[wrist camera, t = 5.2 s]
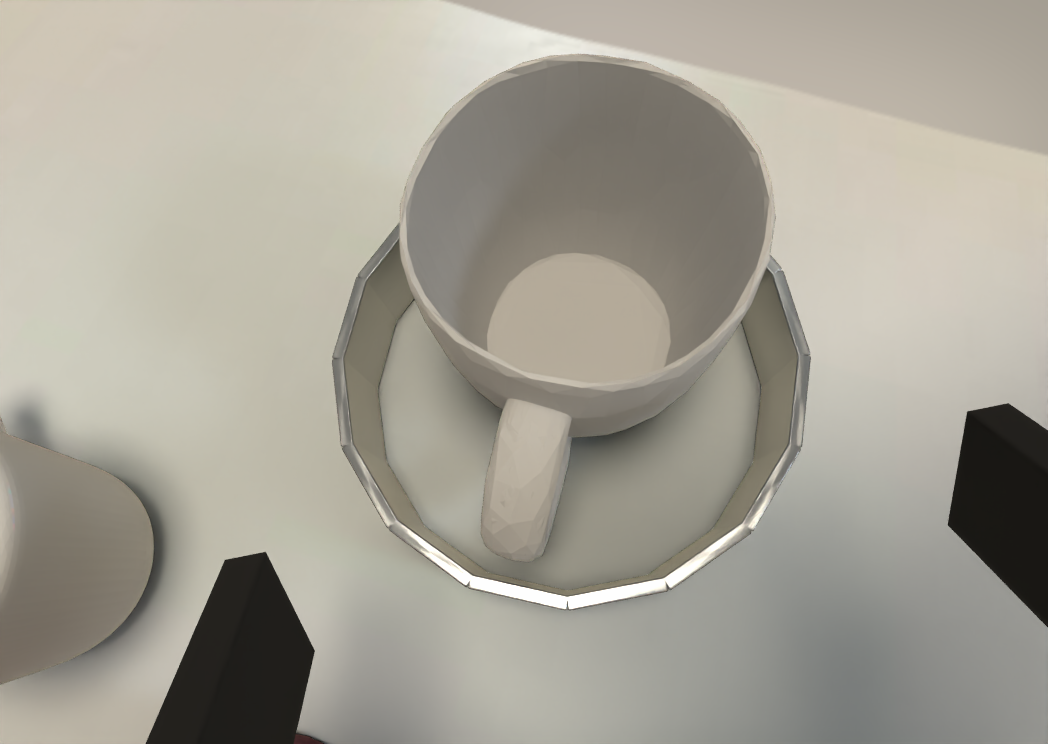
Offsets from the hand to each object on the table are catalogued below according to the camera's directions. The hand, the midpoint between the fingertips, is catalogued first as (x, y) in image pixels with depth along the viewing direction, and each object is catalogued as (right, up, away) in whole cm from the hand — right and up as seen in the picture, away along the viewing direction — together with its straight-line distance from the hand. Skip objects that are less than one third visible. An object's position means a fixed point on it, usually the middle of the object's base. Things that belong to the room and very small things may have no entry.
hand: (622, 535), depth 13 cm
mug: (0, +2, +12) cm, 12 cm away
